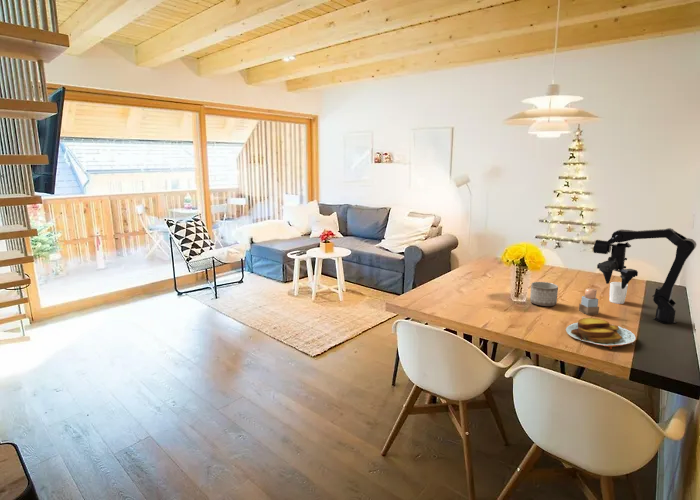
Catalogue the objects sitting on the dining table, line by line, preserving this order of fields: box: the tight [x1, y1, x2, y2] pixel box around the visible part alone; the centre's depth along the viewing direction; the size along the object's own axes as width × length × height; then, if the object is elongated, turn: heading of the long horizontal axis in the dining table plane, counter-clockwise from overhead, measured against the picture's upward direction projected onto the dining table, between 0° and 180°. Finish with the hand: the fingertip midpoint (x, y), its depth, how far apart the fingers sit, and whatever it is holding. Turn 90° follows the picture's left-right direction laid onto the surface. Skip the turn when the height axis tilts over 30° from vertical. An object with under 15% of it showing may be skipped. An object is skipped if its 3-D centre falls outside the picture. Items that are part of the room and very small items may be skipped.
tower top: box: [580, 295, 599, 307], centre depth 194 cm, size 5×5×4 cm
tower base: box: [578, 303, 600, 316], centre depth 195 cm, size 6×6×4 cm
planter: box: [529, 281, 559, 307], centre depth 208 cm, size 13×13×10 cm
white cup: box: [608, 281, 629, 305], centre depth 209 cm, size 8×8×10 cm
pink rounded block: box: [584, 288, 597, 299], centre depth 193 cm, size 5×5×4 cm
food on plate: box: [565, 317, 637, 350], centre depth 166 cm, size 25×25×7 cm
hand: (614, 286), depth 195 cm, fingers open, 9 cm apart
